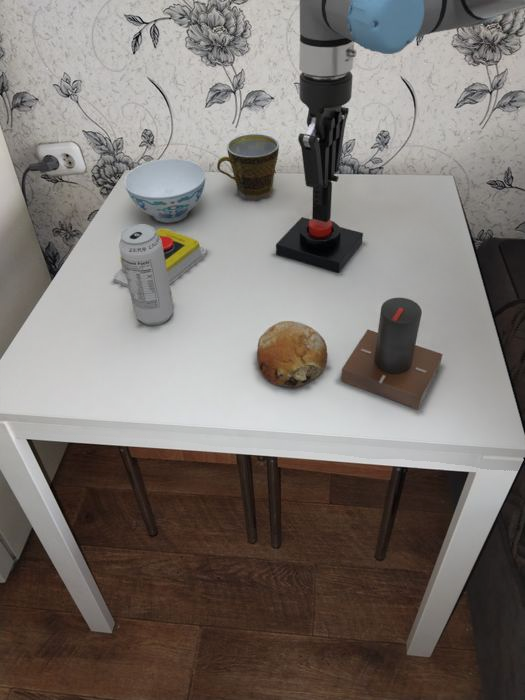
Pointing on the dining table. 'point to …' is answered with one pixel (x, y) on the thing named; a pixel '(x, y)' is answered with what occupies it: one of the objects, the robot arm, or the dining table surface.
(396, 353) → the dial
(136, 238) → the energy drink can
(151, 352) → the dining table surface
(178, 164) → the chinaware
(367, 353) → the dial panel
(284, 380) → the bread roll
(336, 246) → the button box
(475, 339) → the dining table surface
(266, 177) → the ceramic cup
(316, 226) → the button
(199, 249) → the emergency button
